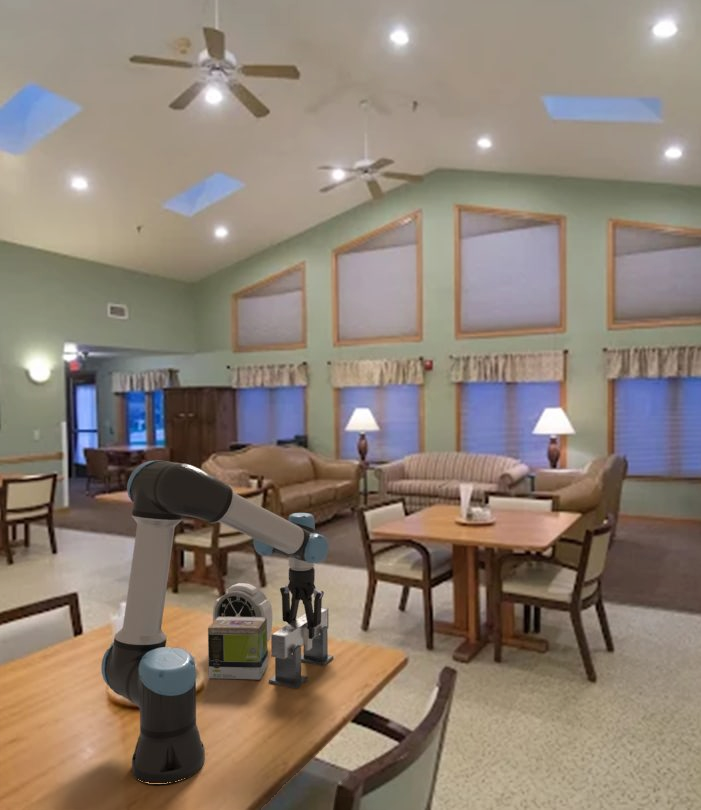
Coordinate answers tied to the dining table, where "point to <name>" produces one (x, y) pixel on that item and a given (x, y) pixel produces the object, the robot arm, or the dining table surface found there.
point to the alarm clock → (244, 604)
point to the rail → (294, 635)
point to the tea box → (237, 647)
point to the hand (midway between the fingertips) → (301, 647)
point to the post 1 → (289, 670)
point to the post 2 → (318, 650)
